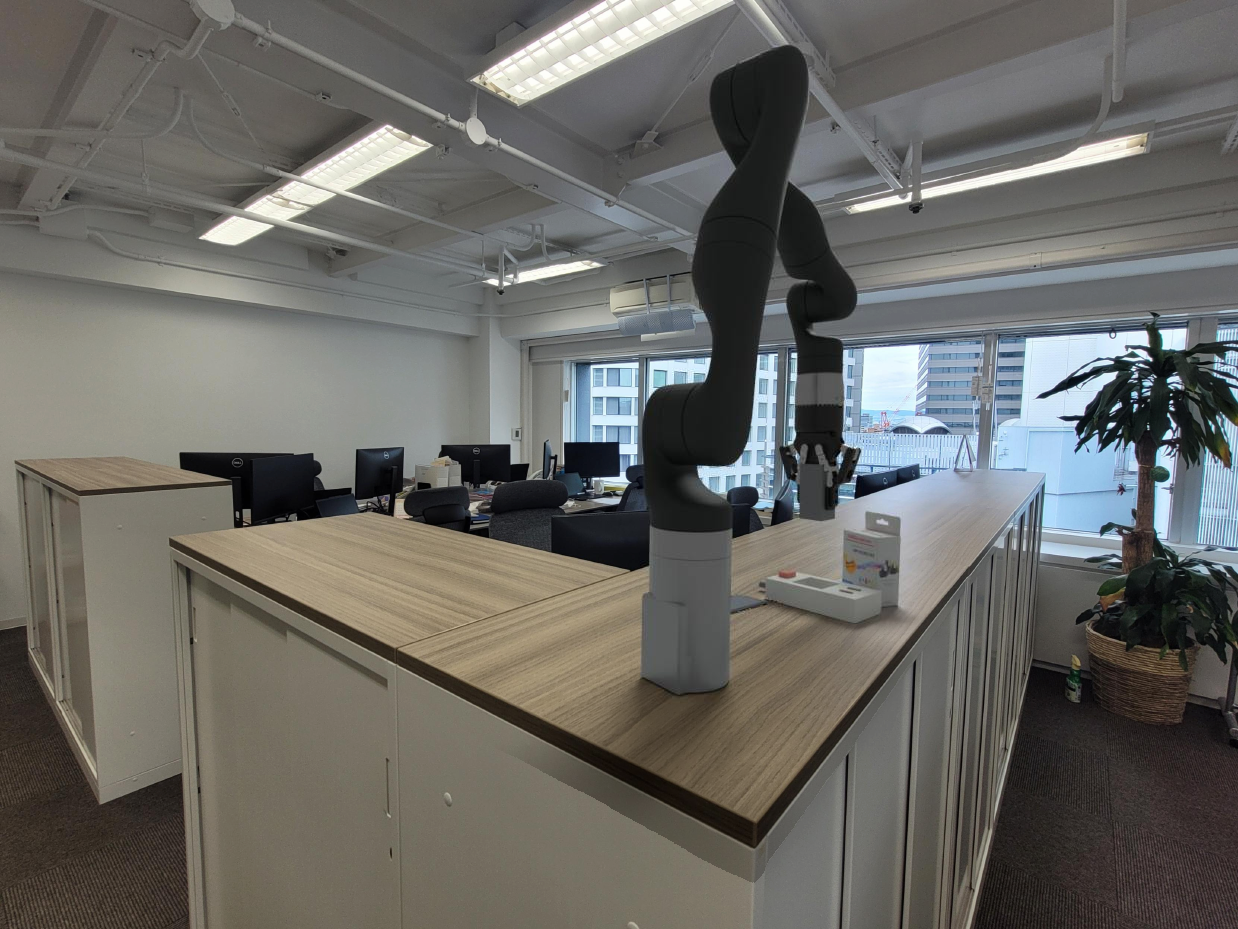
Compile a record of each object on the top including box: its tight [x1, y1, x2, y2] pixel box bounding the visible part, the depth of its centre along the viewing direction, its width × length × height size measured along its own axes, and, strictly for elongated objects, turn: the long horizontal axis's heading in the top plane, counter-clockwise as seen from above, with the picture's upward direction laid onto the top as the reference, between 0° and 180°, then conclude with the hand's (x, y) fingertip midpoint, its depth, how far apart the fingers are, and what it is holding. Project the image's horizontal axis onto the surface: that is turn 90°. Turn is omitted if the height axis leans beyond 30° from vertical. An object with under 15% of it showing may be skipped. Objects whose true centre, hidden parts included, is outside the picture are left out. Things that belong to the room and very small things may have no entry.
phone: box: [730, 594, 769, 615], centre depth 91 cm, size 12×6×1 cm, turn 128°
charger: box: [798, 464, 836, 522], centre depth 91 cm, size 4×4×9 cm
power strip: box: [758, 569, 882, 624], centre depth 93 cm, size 8×20×4 cm, turn 39°
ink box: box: [841, 510, 902, 608], centre depth 95 cm, size 8×5×15 cm, turn 17°
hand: (817, 507), depth 91 cm, fingers closed on charger, 4 cm apart
